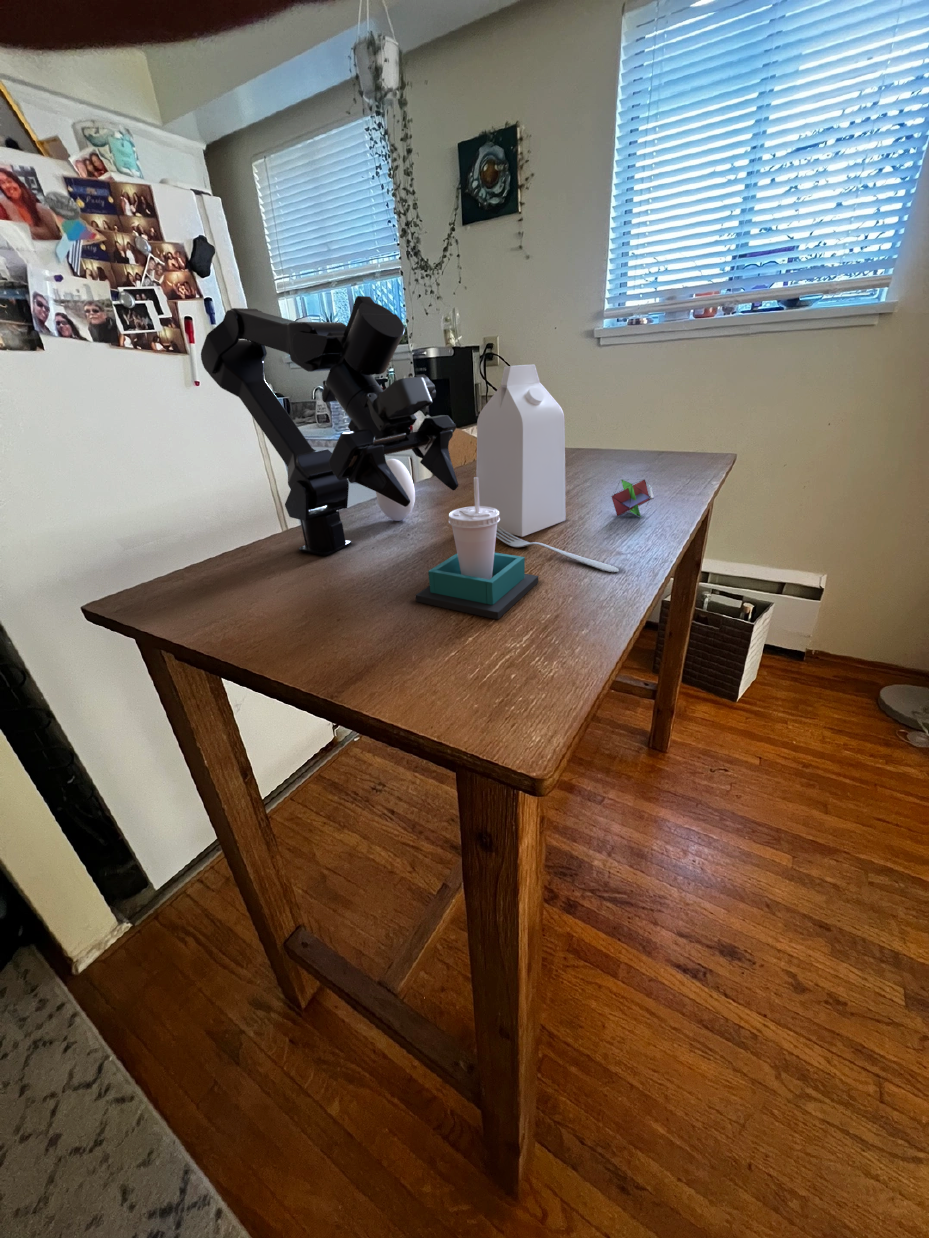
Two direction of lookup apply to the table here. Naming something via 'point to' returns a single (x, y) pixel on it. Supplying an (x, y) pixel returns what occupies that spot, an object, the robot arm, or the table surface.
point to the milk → (522, 454)
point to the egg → (404, 478)
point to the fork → (578, 558)
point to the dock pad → (478, 587)
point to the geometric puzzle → (631, 497)
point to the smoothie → (475, 537)
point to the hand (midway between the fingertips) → (433, 496)
